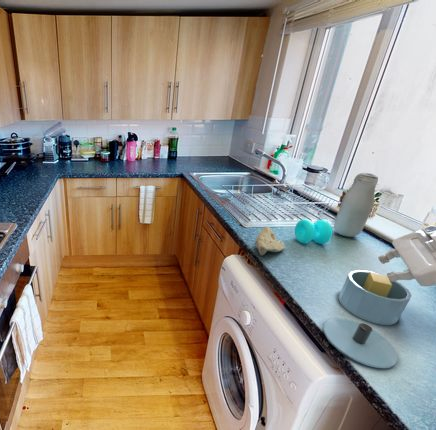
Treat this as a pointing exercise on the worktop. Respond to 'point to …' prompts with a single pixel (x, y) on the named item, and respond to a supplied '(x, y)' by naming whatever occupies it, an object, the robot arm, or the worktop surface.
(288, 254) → the worktop surface
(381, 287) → the butter
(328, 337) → the pot lid
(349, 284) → the pot
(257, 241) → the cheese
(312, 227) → the donuts
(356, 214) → the grey bottle
